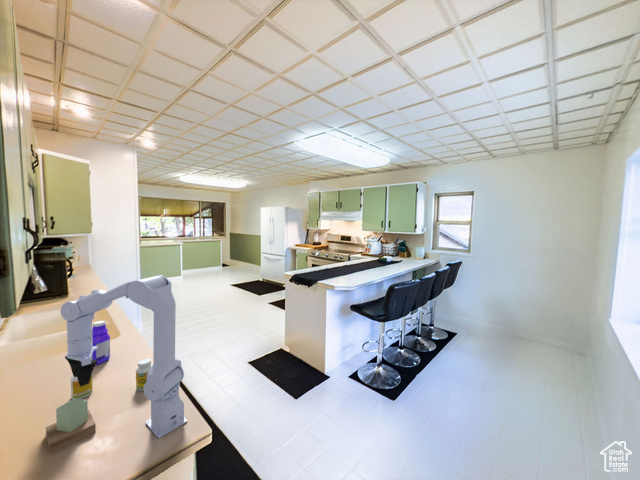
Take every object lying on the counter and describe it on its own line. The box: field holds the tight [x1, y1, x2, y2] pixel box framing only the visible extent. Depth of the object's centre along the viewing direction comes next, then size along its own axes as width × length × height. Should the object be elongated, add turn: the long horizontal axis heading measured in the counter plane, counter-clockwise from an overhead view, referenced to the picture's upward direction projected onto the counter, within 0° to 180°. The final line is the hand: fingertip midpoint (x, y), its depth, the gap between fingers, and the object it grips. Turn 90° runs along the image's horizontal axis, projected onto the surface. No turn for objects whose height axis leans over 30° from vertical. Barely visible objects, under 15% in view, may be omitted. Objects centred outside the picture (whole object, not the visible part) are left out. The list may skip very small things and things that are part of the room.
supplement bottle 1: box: [70, 374, 93, 400], centre depth 88 cm, size 5×5×10 cm
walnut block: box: [45, 409, 97, 455], centre depth 72 cm, size 9×9×3 cm
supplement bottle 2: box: [135, 358, 153, 392], centre depth 93 cm, size 5×5×10 cm
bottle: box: [91, 320, 111, 366], centre depth 110 cm, size 7×6×17 cm
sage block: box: [55, 398, 89, 432], centre depth 72 cm, size 4×4×6 cm
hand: (81, 379), depth 80 cm, fingers open, 7 cm apart
